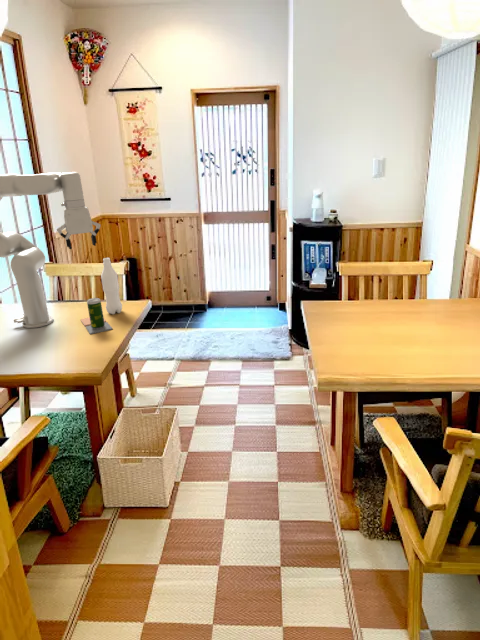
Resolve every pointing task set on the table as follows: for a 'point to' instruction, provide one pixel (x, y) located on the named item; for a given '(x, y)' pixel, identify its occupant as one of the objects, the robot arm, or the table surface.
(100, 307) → the beer can
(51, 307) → the table surface
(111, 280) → the water bottle
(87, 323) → the terracotta coaster
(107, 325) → the slate coaster
